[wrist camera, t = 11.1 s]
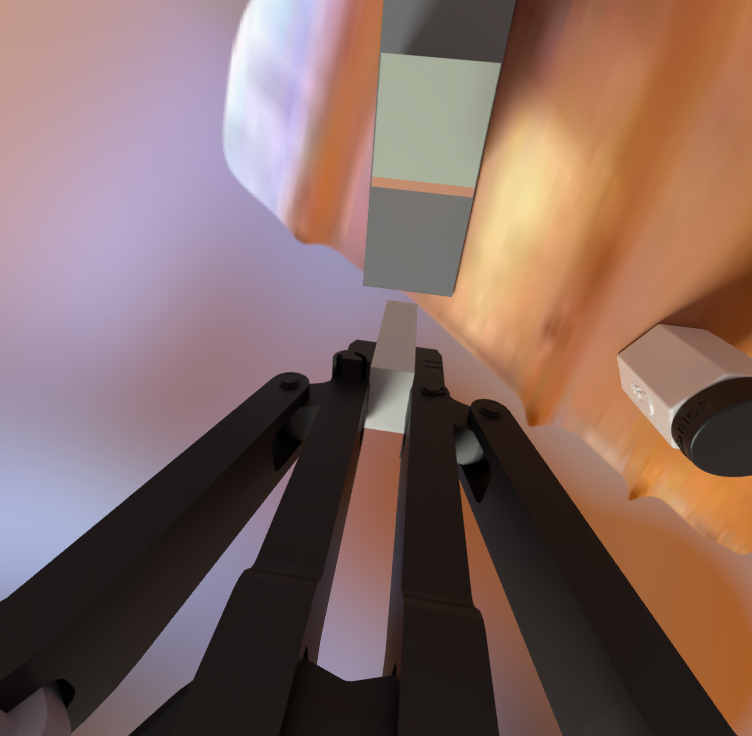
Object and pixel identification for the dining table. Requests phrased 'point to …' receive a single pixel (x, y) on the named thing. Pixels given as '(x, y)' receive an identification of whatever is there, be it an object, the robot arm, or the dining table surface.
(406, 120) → the block
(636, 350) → the jar
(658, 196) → the dining table surface
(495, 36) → the mat
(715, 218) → the dining table surface
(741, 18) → the dining table surface
